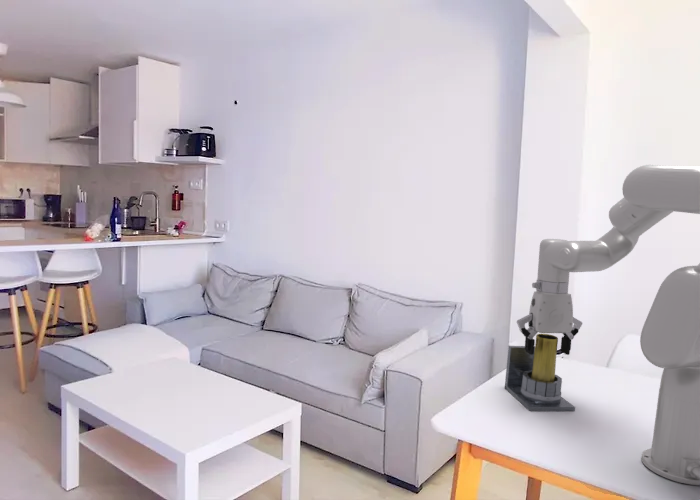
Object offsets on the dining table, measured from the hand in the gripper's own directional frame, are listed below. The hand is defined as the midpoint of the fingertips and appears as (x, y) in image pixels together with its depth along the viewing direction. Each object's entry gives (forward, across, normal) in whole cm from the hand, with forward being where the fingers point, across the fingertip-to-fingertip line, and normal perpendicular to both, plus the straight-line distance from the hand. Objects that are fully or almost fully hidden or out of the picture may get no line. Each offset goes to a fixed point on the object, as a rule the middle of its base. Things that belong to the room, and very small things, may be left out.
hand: (547, 353), depth 137 cm
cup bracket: (+13, 0, +1) cm, 13 cm away
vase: (+10, 0, +1) cm, 10 cm away
